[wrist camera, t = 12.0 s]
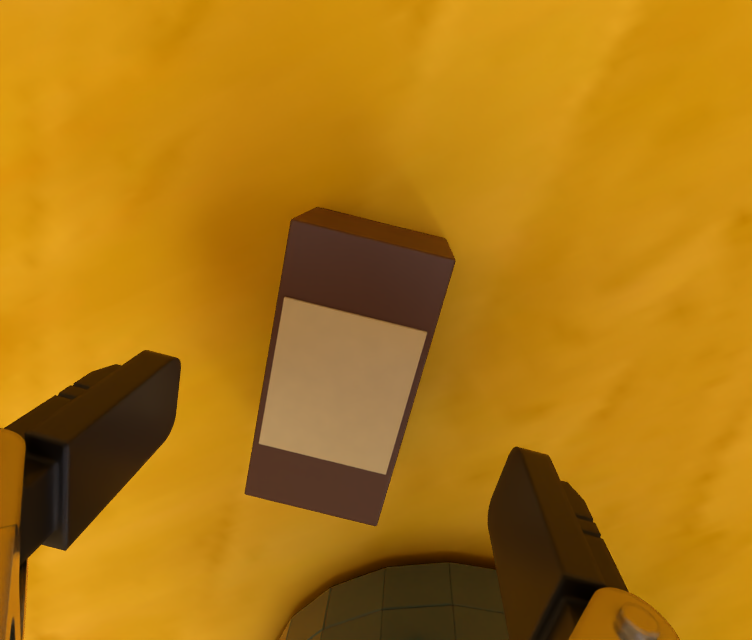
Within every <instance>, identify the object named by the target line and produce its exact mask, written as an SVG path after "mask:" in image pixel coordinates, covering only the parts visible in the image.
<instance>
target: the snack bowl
mask: <svg viewBox="0 0 752 640" xmlns="http://www.w3.org/2000/svg"><path fill="white" fill-rule="evenodd" d="M279 640H509V635H508V630H507V625H506V619H505V614H504V609H503V603H502V598H501V593H500V588H499V582H498V577H497V572H496V569H490V568H484V567H478V566H472V565H465V564H459V563H453V562H449V563H448V562H441V563H429V564H417V565H405V566H393V567H386V569H385V568H382V569H380V570H377V571H374V572H371V573H368V574H366V575H363V576H360V577H357V578H355V579H352V580H349V581H346V582H343V583H341V584H338V585H335V586H333V587H330V588H329V589H328V590H326V591H325V592H324V593H322V594H321V595H320V596H319V597H317V598H316V599H315V600H313V601H312V602H311V603H309V604H308V605H307V606H306V607H304V608H303V609H302V610H300V611H299V612H298V613H296V614H295V615H294V616H293V617H292V618H291V619H290V621H289V623H288V625H287V626H286V628H285V630H284V632H283V633H282V635H281V637H280V638H279Z"/></svg>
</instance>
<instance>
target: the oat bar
mask: <svg viewBox="0 0 752 640" xmlns="http://www.w3.org/2000/svg"><path fill="white" fill-rule="evenodd" d="M454 264H455V258H454V256H453V253H452V251H451V249H450V247H449V244H448V242H447V240H446V239H444V238H440V237H436V236H432V235H428V234H424V233H420V232H416V231H412V230H408V229H404V228H400V227H396V226H392V225H388V224H384V223H380V222H376V221H372V220H368V219H364V218H360V217H356V216H352V215H348V214H344V213H340V212H336V211H332V210H328V209H324V208H319V207H316V208H314V209H312V210H310V211H308V212H306V213H304V214H301V215H299V216H297V217H295V218H293V219H291V222H290V228H289V234H288V240H287V246H286V252H285V258H284V264H283V269H282V275H281V281H280V287H279V293H278V299H277V305H276V311H275V317H274V323H273V328H272V334H271V340H270V346H269V352H268V358H267V364H266V370H265V376H264V382H263V388H262V393H261V399H260V405H259V411H258V417H257V423H256V429H255V435H254V441H253V447H252V452H251V458H250V464H249V470H248V476H247V482H246V488H245V494H246V495H250V496H254V497H258V498H262V499H266V500H270V501H274V502H279V503H283V504H287V505H291V506H295V507H299V508H303V509H307V510H311V511H315V512H320V513H324V514H328V515H332V516H336V517H340V518H344V519H348V520H352V521H356V522H360V523H365V524H369V525H373V526H376V525H377V523H378V520H379V517H380V513H381V510H382V507H383V503H384V500H385V496H386V493H387V490H388V486H389V483H390V480H391V476H392V473H393V470H394V466H395V463H396V459H397V456H398V453H399V449H400V446H401V443H402V439H403V436H404V433H405V429H406V426H407V422H408V419H409V416H410V412H411V409H412V406H413V402H414V399H415V396H416V392H417V389H418V385H419V382H420V379H421V375H422V372H423V369H424V365H425V362H426V359H427V355H428V352H429V348H430V345H431V342H432V338H433V335H434V332H435V328H436V325H437V322H438V318H439V315H440V311H441V308H442V305H443V301H444V298H445V295H446V291H447V288H448V285H449V281H450V278H451V274H452V271H453V268H454Z"/></svg>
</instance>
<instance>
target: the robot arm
mask: <svg viewBox="0 0 752 640" xmlns="http://www.w3.org/2000/svg"><path fill="white" fill-rule="evenodd" d="M180 371H181V363H180V360H179V359H178V358H176V357H172V356H168V355H164V354H160V353H156V352H153V351H149V350H145V351H142V352H141V353H139V354H138V355H136V356H135V357H134V358H132V359H131V360H129V361H128V362H126V363H125V364H123V365H122V366H121V365H117V364H115V365H112V366H108V367H105V368H102V369H99V370H96V371H92V372H91V373H89V374H87V375H86V376H84V377H83V378H81V379H80V380H78V381H77V382H75V383H74V385H73V386H71V385H70V386H69V387H67V388H66V389H64V390H63V391H61V392H60V393H59V395H58V396H56V395H55V396H53V397H52V398H50V399H49V400H47V401H46V402H44V403H42V404H41V405H39V406H38V407H36V408H35V409H33V410H32V411H30V412H28V413H27V414H25V415H24V416H22V417H21V418H19V419H18V420H16V421H15V422H13V423H11V424H10V425H8V426H7V427H5V428H4V429H3V428H0V640H24V632H25V615H26V598H27V580H28V557H29V556H30V555H31V554H32V553H33V552H34V551H35V550H36V549H37V548H38V547H39V546H40V545H41V544H42V545H45V546H49V547H53V548H57V549H61V550H65V551H66V550H67V549H68V547H69V546H70V545H71V544H72V543H73V542H74V541H75V540H76V539H77V538H78V536H79V535H80V534H81V533H82V532H83V531H84V530H85V529H86V528H87V527H88V525H89V524H90V523H91V522H92V521H93V520H94V519H95V518H96V517H97V516H98V514H99V513H100V512H101V511H102V510H103V509H104V508H105V507H106V506H107V504H108V503H109V502H110V501H111V500H112V499H113V498H114V497H115V496H116V495H117V493H118V492H119V491H120V490H121V489H122V488H123V487H124V486H125V485H126V484H127V482H128V481H129V480H130V479H131V478H132V477H133V476H134V475H135V474H136V472H137V471H138V470H139V469H140V468H141V467H142V466H143V465H144V464H145V463H146V461H147V460H148V459H149V458H150V457H151V456H152V455H153V454H154V453H155V452H156V450H157V449H158V448H159V447H160V446H161V445H162V444H163V443H164V441H165V440H166V439H167V437H168V436H169V434H170V432H171V429H172V427H173V424H174V421H175V417H176V409H177V399H178V390H179V381H180ZM488 529H489V535H490V540H491V545H492V551H493V556H494V561H495V566H496V572H497V577H498V582H499V588H500V593H501V598H502V603H503V609H504V614H505V619H506V625H507V630H508V635H509V640H680V639H679V637H678V635H677V634H676V632H675V631H674V629H673V628H672V627H671V625H670V624H669V623H668V622H667V621H666V619H665V618H664V617H663V616H662V615H661V614H660V613H659V612H657V611H656V610H655V609H654V608H653V607H652V606H650V605H649V604H648V603H646V602H645V601H643V600H642V599H640V598H639V597H637V596H635V595H633V594H631V593H629V592H628V590H627V588H626V586H625V583H624V581H623V579H622V577H621V575H620V573H619V571H618V569H617V567H616V565H615V563H614V561H613V559H612V557H611V555H610V553H609V551H608V549H607V546H606V544H605V542H604V540H603V539H601V538H600V536H601V534H600V532H599V530H598V528H597V526H596V524H595V523H594V522H593V518H592V516H591V514H590V512H589V510H588V507H587V505H586V503H585V501H584V500H583V499H582V498H581V497H580V495H579V494H578V493H577V492H576V491H575V490H574V489H573V488H572V487H571V486H570V485H569V483H568V482H564V481H560V479H559V477H558V474H557V472H556V470H555V468H554V465H553V463H552V461H551V459H550V457H549V456H548V455H546V454H542V453H539V452H535V451H531V450H527V449H523V448H519V447H514V448H513V449H512V450H511V452H510V454H509V456H508V458H507V461H506V463H505V466H504V468H503V471H502V473H501V476H500V478H499V481H498V483H497V486H496V488H495V491H494V493H493V496H492V498H491V501H490V505H489V510H488Z"/></svg>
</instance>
